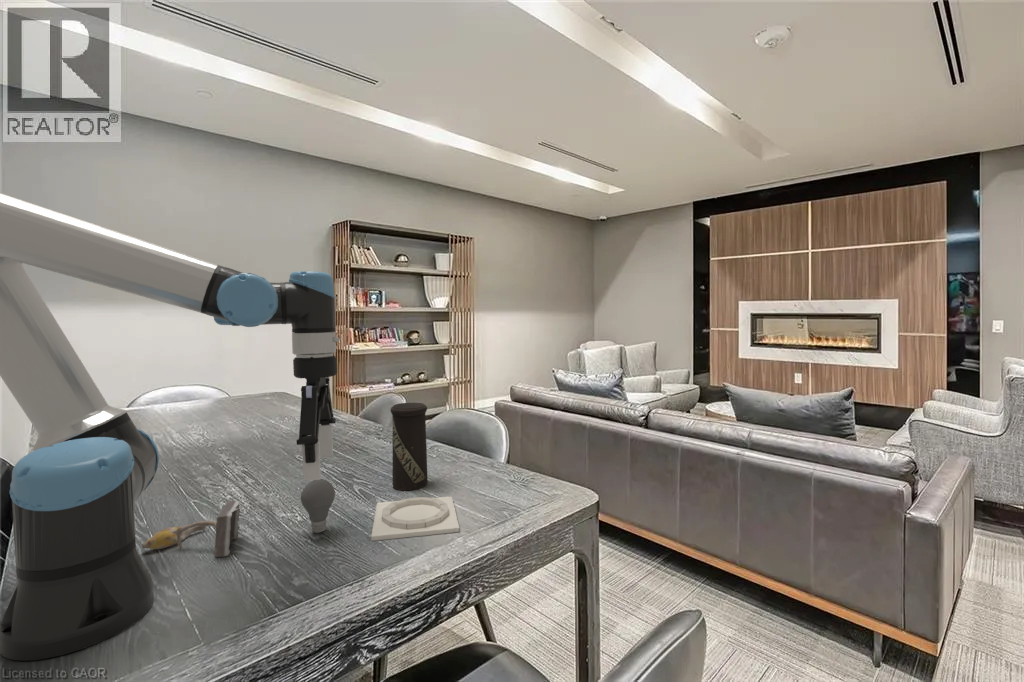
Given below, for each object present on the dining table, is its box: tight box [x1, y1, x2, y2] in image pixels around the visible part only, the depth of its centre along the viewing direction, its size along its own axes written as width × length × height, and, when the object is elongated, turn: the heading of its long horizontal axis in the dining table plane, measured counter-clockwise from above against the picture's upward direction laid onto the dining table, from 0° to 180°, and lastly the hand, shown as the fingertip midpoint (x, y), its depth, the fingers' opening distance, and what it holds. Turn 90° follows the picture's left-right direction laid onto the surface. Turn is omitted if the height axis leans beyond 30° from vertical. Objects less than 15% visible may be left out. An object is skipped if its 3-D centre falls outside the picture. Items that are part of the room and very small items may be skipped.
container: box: [390, 402, 428, 491], centre depth 113 cm, size 9×9×20 cm
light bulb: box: [300, 478, 336, 534], centre depth 88 cm, size 6×6×10 cm
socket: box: [370, 496, 460, 542], centre depth 94 cm, size 16×16×2 cm
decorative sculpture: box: [141, 500, 241, 558], centre depth 84 cm, size 16×10×7 cm, turn 86°
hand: (319, 467), depth 88 cm, fingers open, 13 cm apart
